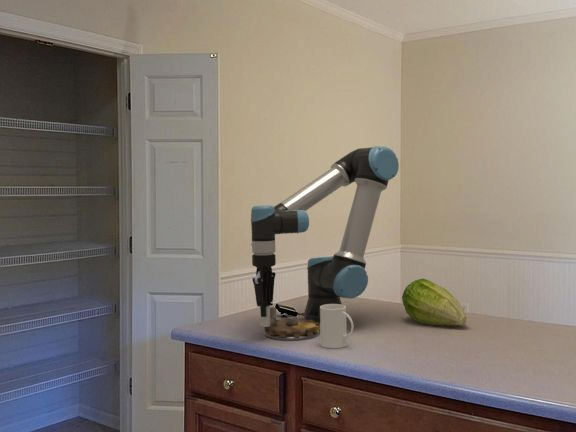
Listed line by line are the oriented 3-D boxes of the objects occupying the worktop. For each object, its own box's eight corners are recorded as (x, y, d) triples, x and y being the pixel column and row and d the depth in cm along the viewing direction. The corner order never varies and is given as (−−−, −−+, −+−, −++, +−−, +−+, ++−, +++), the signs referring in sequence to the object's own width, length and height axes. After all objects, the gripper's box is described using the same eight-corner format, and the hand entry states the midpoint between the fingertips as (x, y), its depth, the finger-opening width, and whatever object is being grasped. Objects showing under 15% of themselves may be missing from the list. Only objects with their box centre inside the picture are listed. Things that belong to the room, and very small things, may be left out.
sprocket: (313, 321, 207) (312, 300, 207) (325, 335, 189) (324, 311, 189) (261, 325, 204) (261, 303, 204) (268, 338, 186) (268, 314, 186)
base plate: (313, 324, 208) (313, 322, 207) (325, 338, 189) (325, 336, 189) (261, 328, 204) (261, 325, 204) (268, 342, 186) (268, 339, 186)
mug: (361, 346, 179) (360, 307, 179) (342, 352, 174) (341, 312, 173) (333, 339, 188) (332, 302, 187) (314, 344, 182) (313, 306, 182)
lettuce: (473, 335, 204) (444, 347, 194) (419, 303, 222) (390, 313, 213) (482, 297, 198) (453, 308, 189) (426, 267, 217) (396, 276, 207)
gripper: (261, 250, 196) (263, 320, 198) (244, 255, 184) (246, 329, 186) (282, 251, 193) (284, 322, 195) (265, 256, 181) (267, 331, 183)
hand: (265, 325), depth 190 cm, fingers closed
